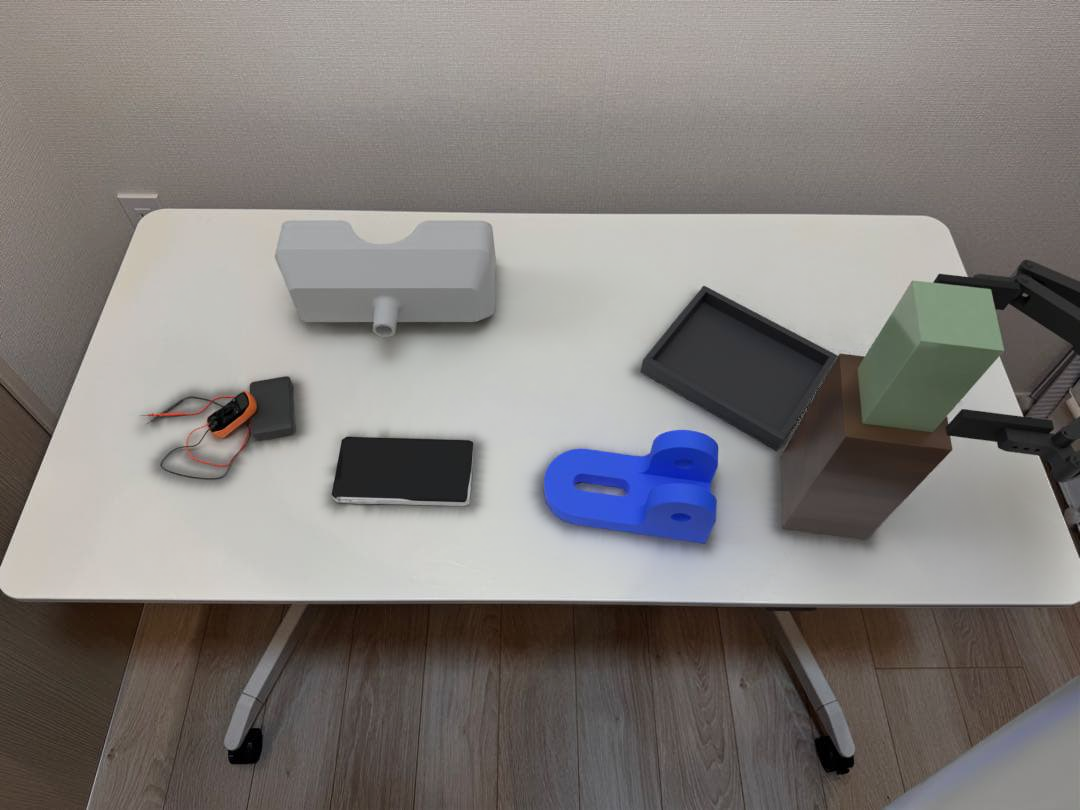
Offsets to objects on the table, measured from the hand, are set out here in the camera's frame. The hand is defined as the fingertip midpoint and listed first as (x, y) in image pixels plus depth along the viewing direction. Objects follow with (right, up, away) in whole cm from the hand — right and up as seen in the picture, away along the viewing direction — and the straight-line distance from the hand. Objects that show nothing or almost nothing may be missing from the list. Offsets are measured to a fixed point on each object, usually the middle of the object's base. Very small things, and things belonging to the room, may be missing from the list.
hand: (942, 350), depth 62 cm
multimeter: (-70, -8, +27) cm, 75 cm away
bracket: (-23, -15, +23) cm, 36 cm away
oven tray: (-8, 0, +32) cm, 33 cm away
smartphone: (-48, -12, +25) cm, 55 cm away
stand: (-1, -15, +23) cm, 27 cm away
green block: (-1, -4, +6) cm, 7 cm away
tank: (-51, +8, +37) cm, 63 cm away
